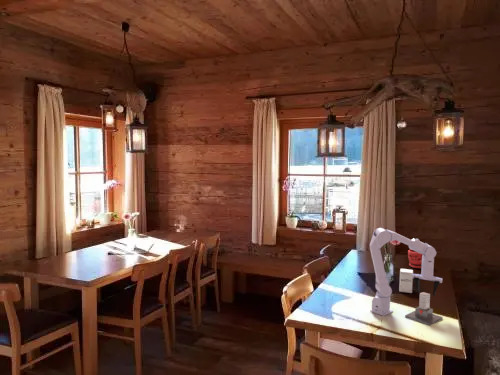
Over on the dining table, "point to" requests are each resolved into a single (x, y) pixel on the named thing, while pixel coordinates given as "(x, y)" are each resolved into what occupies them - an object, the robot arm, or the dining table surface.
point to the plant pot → (415, 259)
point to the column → (424, 301)
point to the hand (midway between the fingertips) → (426, 293)
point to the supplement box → (406, 280)
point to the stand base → (424, 316)
